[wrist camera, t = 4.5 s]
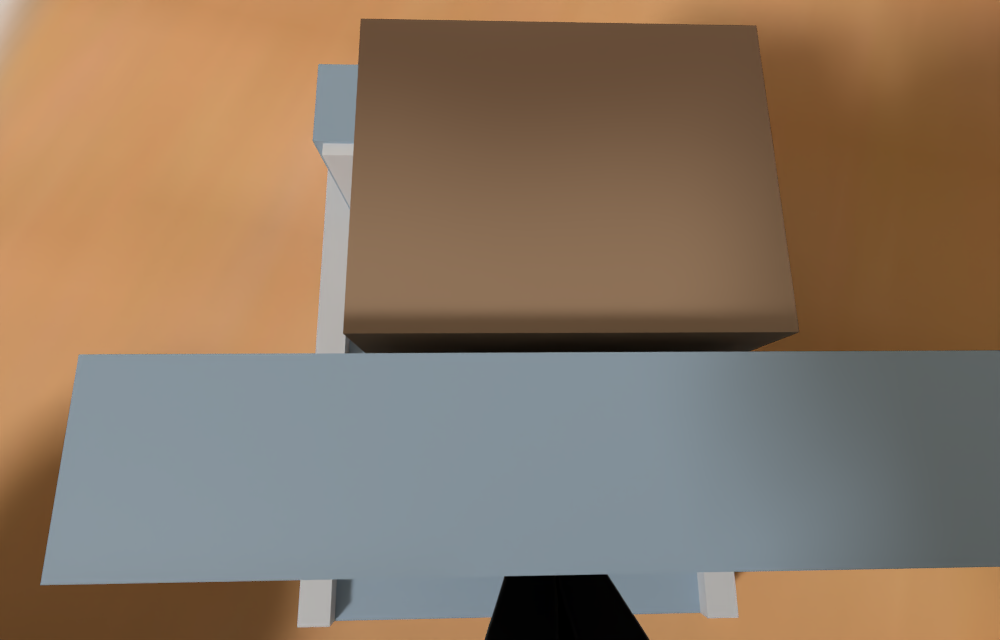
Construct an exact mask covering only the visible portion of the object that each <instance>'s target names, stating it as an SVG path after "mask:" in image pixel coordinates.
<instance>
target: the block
mask: <svg viewBox="0 0 1000 640" xmlns="http://www.w3.org/2000/svg"><path fill="white" fill-rule="evenodd" d="M798 332H799V326H798V319H797V312H796V305H795V298H794V291H793V283H792V276H791V269H790V262H789V255H788V248H787V241H786V234H785V227H784V220H783V212H782V205H781V198H780V191H779V184H778V177H777V170H776V163H775V156H774V149H773V142H772V134H771V127H770V120H769V113H768V106H767V99H766V92H765V85H764V78H763V71H762V63H761V56H760V49H759V42H758V35H757V28H756V26H746V25H689V24H632V23H575V22H518V21H461V20H404V19H361V26H360V43H359V61H358V78H357V96H356V113H355V131H354V149H353V166H352V184H351V201H350V219H349V236H348V254H347V271H346V289H345V306H344V324H343V334H344V335H345V336H346V337H348V338H349V339H350V340H351V341H352V342H353V343H354V344H356V345H357V346H358V347H359V348H360V349H361V350H362V351H364V352H365V353H545V352H748V351H751V350H754V349H756V348H759V347H761V346H764V345H767V344H769V343H772V342H775V341H777V340H780V339H782V338H785V337H788V336H790V335H793V334H796V333H798Z"/></svg>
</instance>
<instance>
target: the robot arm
mask: <svg viewBox="0 0 1000 640" xmlns="http://www.w3.org/2000/svg"><path fill="white" fill-rule="evenodd" d="M485 640H649V638H648V637H647V635H646V633H645V632H644V630H643V629H642V627H641V626H640V624H639V623H638V621H637V619H636V618H635V616H634V615H633V613H632V612H631V610H630V608H629V607H628V605H627V604H626V602H625V601H624V599H623V598H622V596H621V594H620V593H619V591H618V590H617V588H616V587H615V585H614V584H613V582H612V580H611V579H610V577H609V576H608V574H592V575H540V576H504V579H503V582H502V585H501V589H500V592H499V595H498V598H497V602H496V605H495V608H494V611H493V614H492V618H491V621H490V624H489V627H488V631H487V634H486V637H485Z"/></svg>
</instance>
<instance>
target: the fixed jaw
mask: <svg viewBox="0 0 1000 640" xmlns="http://www.w3.org/2000/svg"><path fill="white" fill-rule="evenodd" d="M357 78H358V65H332V64H319V65H318V78H317V91H316V105H315V118H314V131H313V142H314V144H315V146H316V148H317V150H318V152H319V153H320V155H321V157H322V159H323V161H324V163H325V165H326V166H327V168H328V170H329V172H330V174H331V176H332V178H333V179H334V181H335V183H336V185H337V187H338V189H339V191H340V192H341V194H342V196H343V198H344V200H345V202H346V204H347V205H348V207H349V209H350V201H351V184H352V166H353V149H354V131H355V113H356V96H357Z"/></svg>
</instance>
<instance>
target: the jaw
mask: <svg viewBox="0 0 1000 640" xmlns="http://www.w3.org/2000/svg"><path fill="white" fill-rule="evenodd" d="M954 567H1000V350H991V351H768V352H545V353H322V354H99V355H79V357H78V363H77V369H76V375H75V381H74V387H73V393H72V399H71V405H70V411H69V417H68V423H67V429H66V434H65V440H64V446H63V452H62V458H61V464H60V470H59V476H58V482H57V488H56V494H55V500H54V506H53V512H52V518H51V524H50V530H49V536H48V542H47V548H46V554H45V560H44V566H43V572H42V578H41V584H40V585H74V584H126V583H178V582H230V581H281V580H333V579H385V578H437V577H489V576H540V575H592V574H644V573H695V572H747V571H799V570H851V569H903V568H954Z"/></svg>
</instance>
